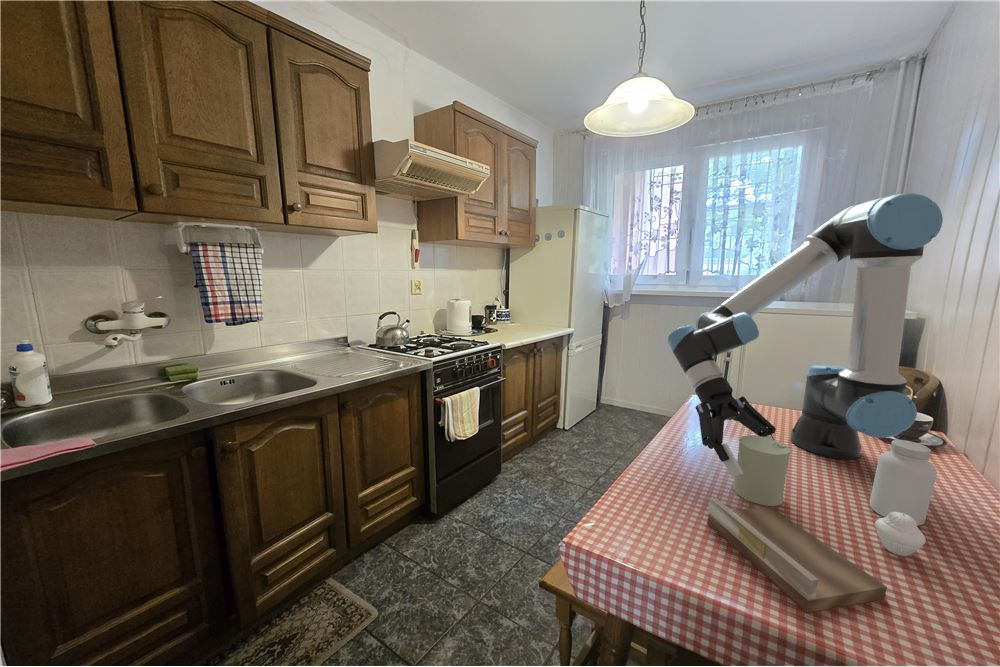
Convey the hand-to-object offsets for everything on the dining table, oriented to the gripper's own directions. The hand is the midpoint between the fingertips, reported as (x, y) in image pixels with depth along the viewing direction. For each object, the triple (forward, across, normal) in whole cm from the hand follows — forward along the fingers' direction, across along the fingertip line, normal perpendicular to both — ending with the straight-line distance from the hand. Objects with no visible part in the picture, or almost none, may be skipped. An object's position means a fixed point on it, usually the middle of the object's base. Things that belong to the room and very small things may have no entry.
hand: (760, 470), depth 83 cm
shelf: (+14, +13, +6) cm, 20 cm away
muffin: (+18, -7, +10) cm, 22 cm away
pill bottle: (+14, -20, +6) cm, 25 cm away
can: (+4, -1, -4) cm, 6 cm away
